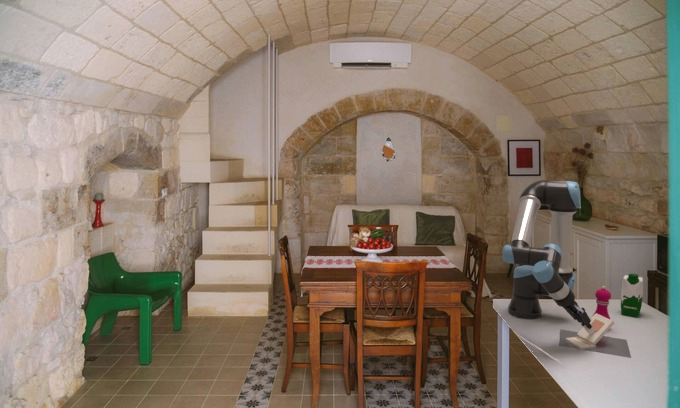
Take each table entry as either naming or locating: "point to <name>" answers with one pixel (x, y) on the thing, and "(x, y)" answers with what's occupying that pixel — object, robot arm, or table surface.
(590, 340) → the cream flat block
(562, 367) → the table surface
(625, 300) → the milk carton
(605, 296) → the pepper mill
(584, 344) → the base
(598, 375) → the table surface
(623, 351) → the slate board
